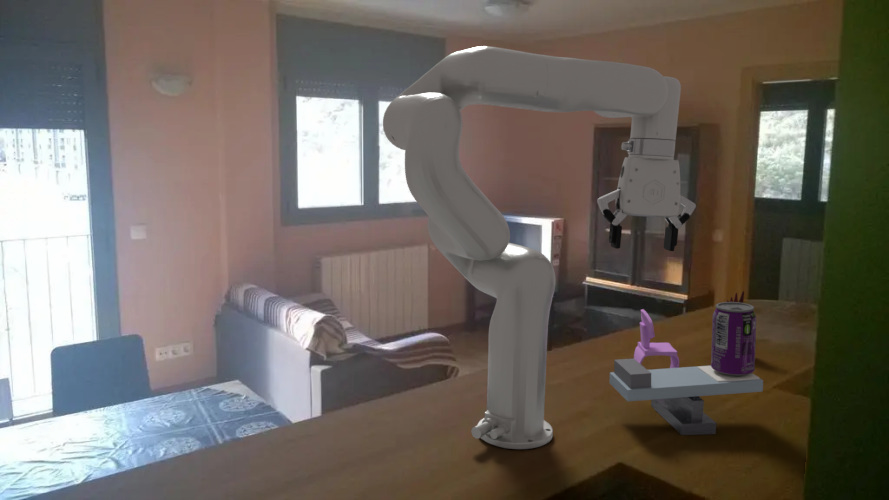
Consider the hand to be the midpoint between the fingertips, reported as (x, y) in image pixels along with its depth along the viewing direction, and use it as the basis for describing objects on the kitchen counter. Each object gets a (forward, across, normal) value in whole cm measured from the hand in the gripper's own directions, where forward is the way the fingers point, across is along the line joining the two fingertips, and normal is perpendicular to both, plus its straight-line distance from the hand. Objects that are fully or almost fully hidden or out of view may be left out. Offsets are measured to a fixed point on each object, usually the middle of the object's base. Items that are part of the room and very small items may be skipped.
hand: (642, 248), depth 122 cm
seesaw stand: (+30, +9, -3) cm, 31 cm away
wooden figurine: (+28, +37, +35) cm, 58 cm away
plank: (+24, +9, -3) cm, 26 cm away
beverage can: (+21, +17, -3) cm, 27 cm away
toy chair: (+30, +11, +17) cm, 36 cm away
